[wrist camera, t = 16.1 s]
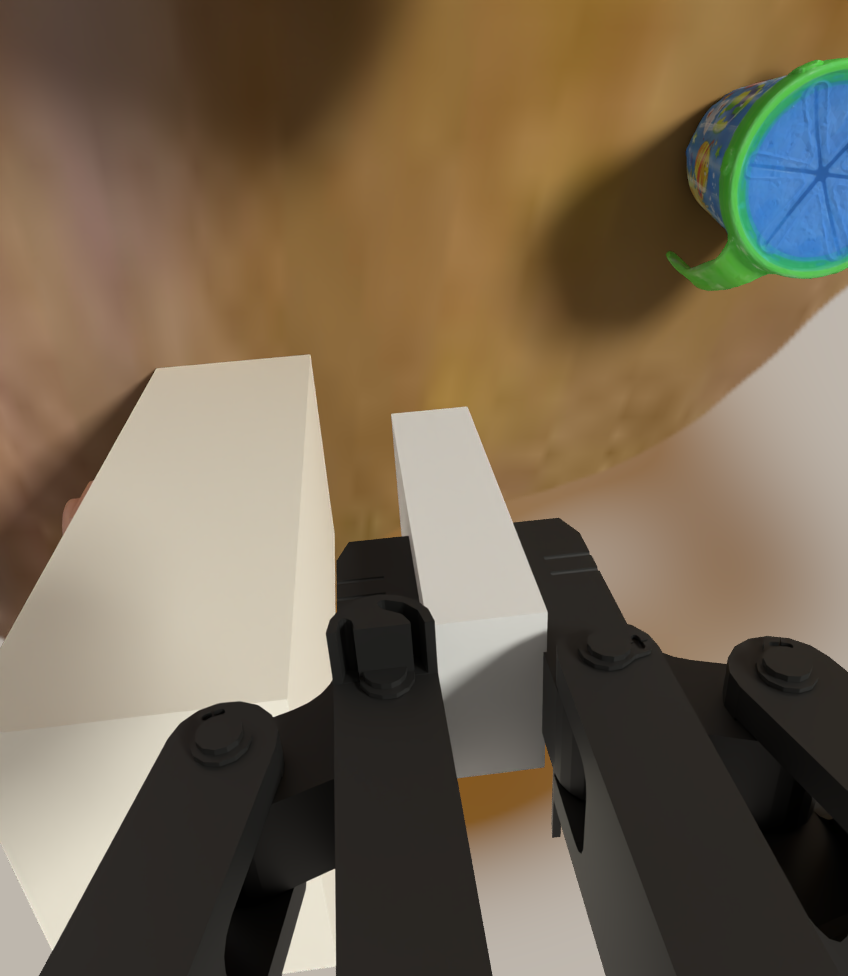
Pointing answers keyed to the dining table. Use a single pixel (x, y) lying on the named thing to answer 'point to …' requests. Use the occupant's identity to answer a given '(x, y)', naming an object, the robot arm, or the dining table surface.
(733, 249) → the snack cup
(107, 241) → the dining table surface
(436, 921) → the robot arm
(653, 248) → the dining table surface
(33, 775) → the button pillar
